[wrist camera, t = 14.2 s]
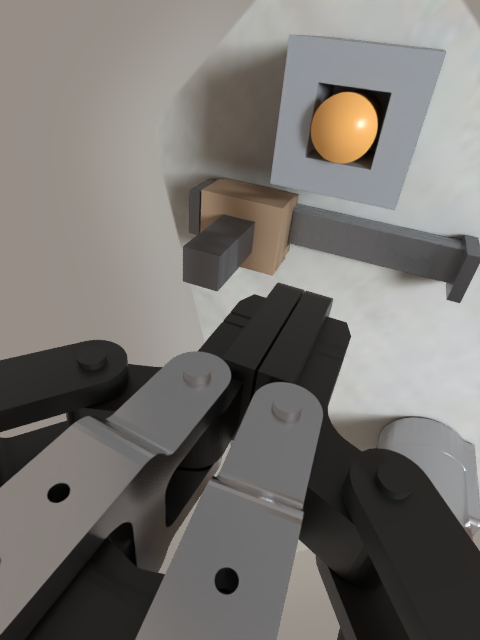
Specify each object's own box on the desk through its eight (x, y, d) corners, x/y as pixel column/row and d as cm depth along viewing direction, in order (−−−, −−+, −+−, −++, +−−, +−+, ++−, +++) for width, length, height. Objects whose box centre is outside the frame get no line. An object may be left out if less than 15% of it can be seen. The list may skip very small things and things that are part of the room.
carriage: (299, 190, 35) (250, 242, 26) (288, 253, 39) (242, 317, 30) (225, 175, 37) (155, 218, 28) (221, 235, 40) (158, 291, 31)
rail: (478, 237, 33) (482, 258, 30) (458, 280, 35) (460, 303, 32) (209, 178, 39) (189, 190, 36) (207, 218, 41) (189, 232, 38)
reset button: (394, 88, 25) (385, 97, 21) (377, 149, 27) (366, 168, 23) (337, 80, 26) (317, 87, 22) (325, 140, 28) (305, 157, 24)
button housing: (444, 49, 27) (446, 51, 20) (402, 178, 32) (391, 219, 25) (328, 36, 29) (289, 34, 22) (306, 159, 35) (268, 192, 27)
